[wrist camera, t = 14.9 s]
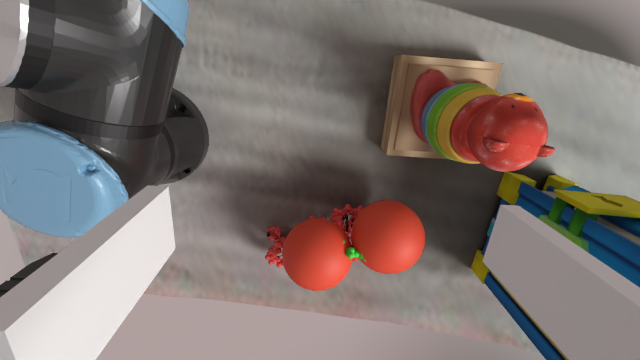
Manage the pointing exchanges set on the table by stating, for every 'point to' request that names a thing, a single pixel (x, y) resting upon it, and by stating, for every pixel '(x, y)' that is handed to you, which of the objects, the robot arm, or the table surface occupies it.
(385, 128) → the oak stand
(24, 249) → the table surface
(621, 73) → the table surface
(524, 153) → the stacking bear
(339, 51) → the table surface
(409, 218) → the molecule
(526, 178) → the decorative book
